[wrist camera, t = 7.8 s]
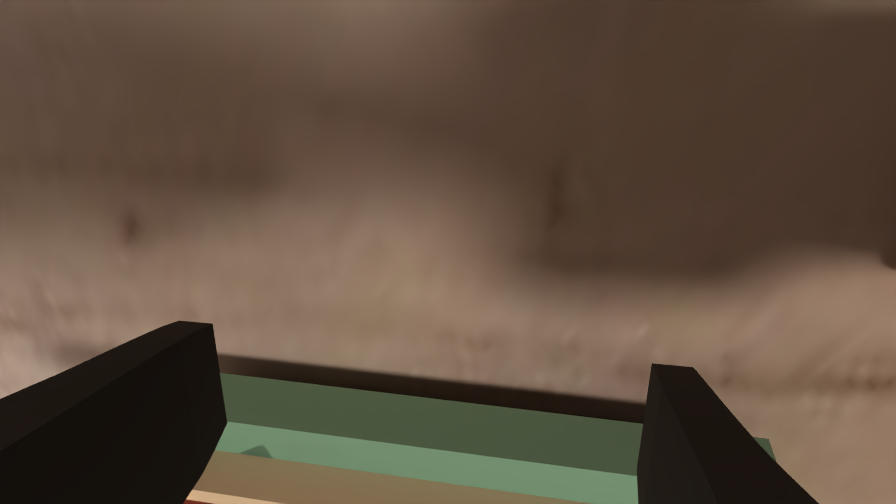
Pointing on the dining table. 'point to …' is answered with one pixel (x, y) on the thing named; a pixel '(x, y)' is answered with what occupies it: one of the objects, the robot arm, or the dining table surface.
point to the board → (410, 450)
